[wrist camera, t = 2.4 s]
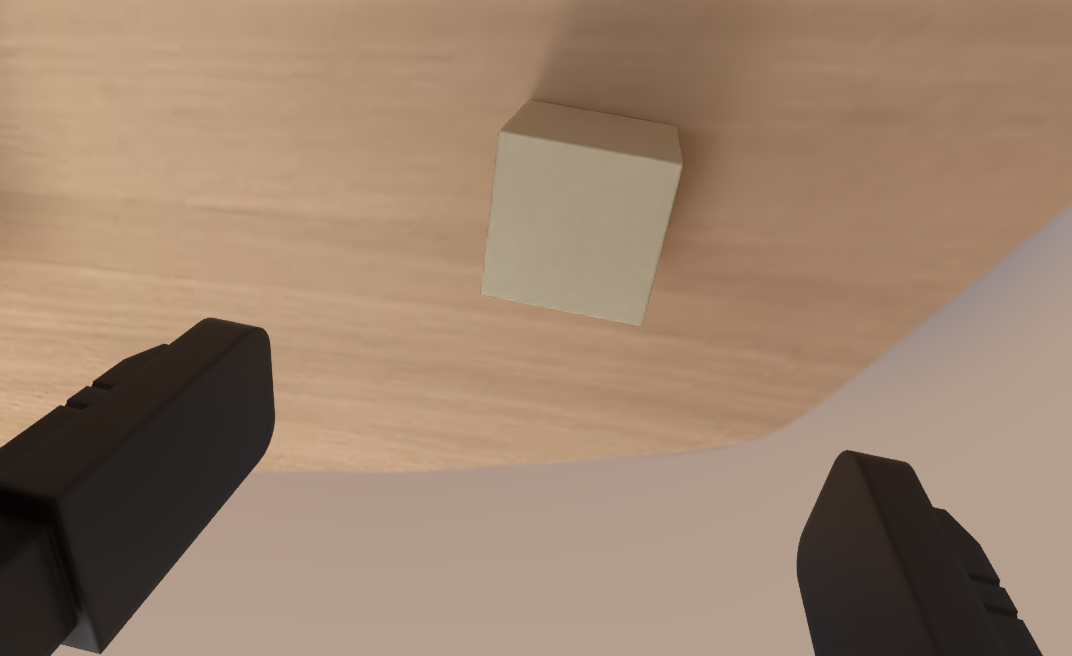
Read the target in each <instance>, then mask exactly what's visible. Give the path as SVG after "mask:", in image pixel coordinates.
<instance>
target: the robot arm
mask: <svg viewBox="0 0 1072 656" xmlns="http://www.w3.org/2000/svg"><path fill="white" fill-rule="evenodd" d="M274 424H275V408H274V393H273V378H272V363H271V348H270V340H269V336H268V334H267V332H266V331H265V330H264V329H263V328H260V327H255V326H250V325H245V324H240V323H236V322H231V321H226V320H221V319H216V318H206V319H203V320H202V321H200V322H199V323H198V324H196V325H195V326H194V327H192V328H191V329H190V330H188V331H187V332H186V333H184V334H183V335H182V336H180V337H179V338H178V339H176V340H175V341H174V342H172V343H171V344H170V345H167V344H162V345H159V346H157V347H154V348H152V349H149V350H147V351H144V352H141V353H139V354H136V355H134V356H131V357H129V358H126V359H124V360H122V361H121V362H120V363H118V364H117V365H115V366H114V367H113V368H111V369H110V370H108V371H107V372H106V373H104V374H103V375H101V376H100V377H99V378H97V379H96V380H94V381H93V385H92V386H91V387H89V386H86V387H85V388H83V389H82V390H81V391H79V392H78V393H76V394H75V395H74V396H72V397H71V398H69V399H68V400H67V403H66V405H65V406H62V405H60V406H58V407H57V408H55V409H54V410H53V411H51V412H50V413H48V414H47V415H46V416H44V417H43V418H41V419H40V420H39V421H37V422H36V423H35V424H33V425H32V426H30V427H29V428H28V429H26V430H25V431H23V432H22V433H21V434H19V435H18V436H16V437H15V438H14V439H12V440H11V441H9V442H8V443H7V444H5V445H4V446H2V447H1V448H0V656H51V654H52V653H53V652H54V651H55V650H56V649H57V648H58V647H59V645H60V644H62V645H66V646H70V647H74V648H78V649H82V650H86V651H90V652H94V653H98V654H101V653H102V652H103V651H104V649H105V648H106V647H107V646H108V645H109V643H110V642H111V641H112V640H113V639H114V637H115V636H116V635H117V634H118V633H119V631H120V630H121V629H122V628H123V626H124V625H125V624H126V623H127V621H128V620H129V619H130V618H131V617H132V615H133V614H134V613H135V612H136V611H137V609H138V608H139V607H140V606H141V605H142V603H143V602H144V601H145V600H146V599H147V597H148V596H149V595H150V594H151V592H152V591H153V590H154V589H155V587H156V586H157V585H158V584H159V583H160V581H161V580H162V579H163V578H164V577H165V575H166V574H167V573H168V572H169V570H170V569H171V568H172V567H173V566H174V564H175V563H176V562H177V561H178V559H179V558H180V557H181V556H182V555H183V554H184V552H185V551H186V550H187V549H188V547H189V546H190V545H191V544H192V542H193V541H194V540H195V539H196V538H197V536H198V535H199V534H200V533H201V532H202V530H203V529H204V528H205V527H206V526H207V524H208V523H209V522H210V521H211V519H212V518H213V517H214V516H215V515H216V513H217V512H218V511H219V510H220V509H221V507H222V506H223V505H224V504H225V502H226V501H227V500H228V499H229V498H230V496H231V495H232V494H233V493H234V491H235V490H236V489H237V488H238V486H239V485H240V484H241V483H242V482H243V480H244V479H245V478H246V477H247V476H248V474H249V473H250V472H251V471H252V470H253V468H254V467H255V466H256V465H257V464H258V462H259V461H260V460H261V458H262V457H263V455H264V454H265V452H266V450H267V448H268V446H269V443H270V441H271V438H272V434H273V430H274ZM797 578H798V583H799V587H800V592H801V596H802V600H803V605H804V608H805V613H806V618H807V622H808V626H809V631H810V635H811V639H812V643H813V648H814V652H815V656H1043V655H1042V653H1041V652H1040V650H1039V648H1038V647H1037V645H1036V643H1035V641H1034V640H1033V637H1032V636H1031V634H1030V632H1029V630H1028V629H1027V627H1026V625H1025V623H1024V622H1023V620H1020V619H1018V618H1017V613H1018V611H1017V609H1016V607H1015V606H1014V604H1013V602H1012V600H1011V599H1010V597H1009V595H1008V593H1007V592H1006V590H1005V588H1002V587H1000V586H999V583H1000V580H999V577H998V576H997V574H996V572H995V570H994V569H993V567H992V565H991V563H990V562H989V560H988V558H987V556H986V554H985V553H984V551H983V550H982V547H981V546H980V544H979V543H978V542H977V541H976V540H975V539H974V538H973V537H972V536H971V535H970V534H969V533H968V532H967V531H966V530H965V529H964V528H963V527H962V526H961V525H960V524H959V523H958V522H957V521H956V520H955V519H954V518H953V517H952V516H951V515H950V514H949V513H948V512H947V511H946V510H944V509H938V508H934V507H933V506H932V504H931V502H930V500H929V499H928V497H927V495H926V493H925V491H924V489H923V487H922V485H921V483H920V482H919V479H918V477H917V475H916V474H915V471H914V470H913V468H912V467H911V466H910V465H909V464H908V463H906V462H902V461H898V460H893V459H889V458H883V457H878V456H874V455H869V454H864V453H859V452H855V451H849V450H846V451H843V452H842V453H841V454H840V455H839V456H838V457H837V458H836V460H835V462H834V464H833V466H832V468H831V471H830V473H829V475H828V477H827V479H826V481H825V484H824V486H823V488H822V490H821V492H820V495H819V497H818V499H817V502H816V504H815V506H814V508H813V510H812V512H811V514H810V517H809V519H808V521H807V523H806V525H805V527H804V530H803V532H802V535H801V538H800V542H799V546H798V553H797Z"/></svg>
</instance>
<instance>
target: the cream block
mask: <svg viewBox="0 0 1072 656" xmlns="http://www.w3.org/2000/svg"><path fill="white" fill-rule="evenodd" d="M682 168H683V163H682V156H681V150H680V144H679V138H678V132H677V126H675V125H669V124H664V123H658V122H652V121H647V120H641V119H635V118H630V117H624V116H619V115H613V114H607V113H602V112H596V111H591V110H585V109H579V108H574V107H568V106H562V105H557V104H551V103H546V102H540V101H534V100H528V101H527V102H526V103H525V104H524V105H523V107H522V108H521V109H520V110H519V111H518V112H517V113H516V114H515V115H514V116H513V117H512V118H511V119H510V120H509V121H508V122H507V123H506V124H505V125H504V126H503V127H502V128H501V129H500V131H499V133H498V142H497V151H496V160H495V169H494V177H493V186H492V195H491V204H490V213H489V222H488V230H487V239H486V248H485V257H484V266H483V275H482V283H481V292H480V293H481V295H484V296H489V297H494V298H499V299H504V300H509V301H514V302H519V303H524V304H529V305H534V306H540V307H545V308H550V309H555V310H560V311H565V312H570V313H575V314H580V315H585V316H590V317H595V318H600V319H605V320H610V321H615V322H620V323H625V324H630V325H635V326H642V325H643V322H644V318H645V314H646V310H647V306H648V302H649V298H650V294H651V290H652V286H653V282H654V278H655V275H656V271H657V267H658V263H659V259H660V255H661V251H662V247H663V243H664V239H665V235H666V231H667V227H668V223H669V219H670V215H671V211H672V207H673V203H674V199H675V195H676V191H677V187H678V184H679V180H680V176H681V172H682Z"/></svg>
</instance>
